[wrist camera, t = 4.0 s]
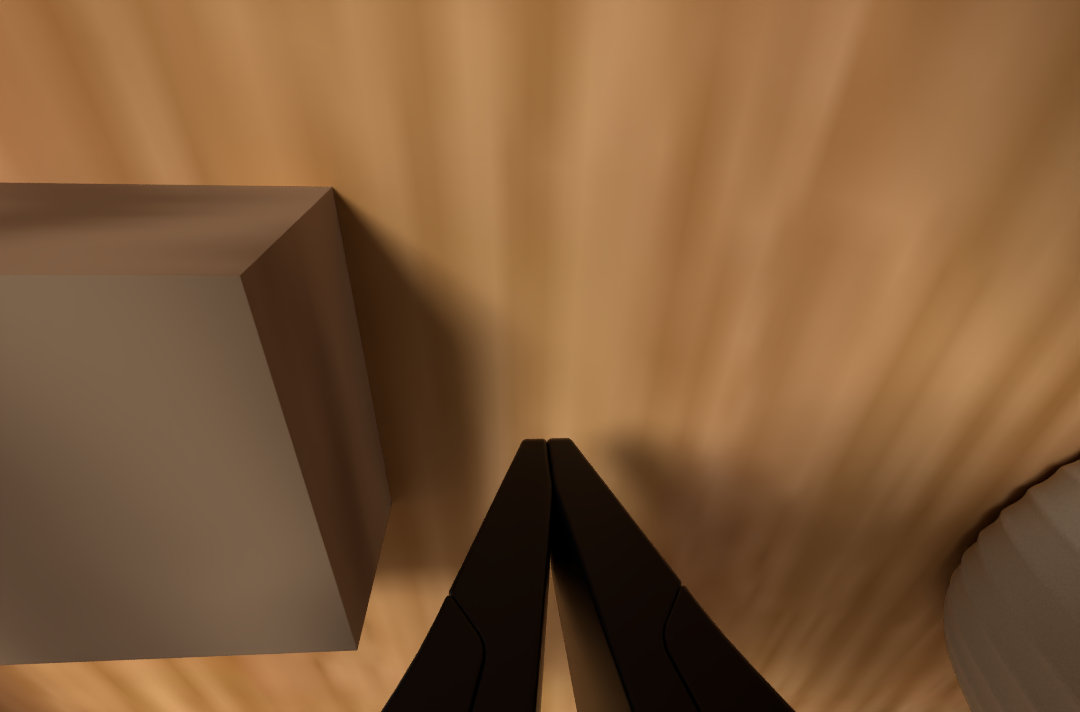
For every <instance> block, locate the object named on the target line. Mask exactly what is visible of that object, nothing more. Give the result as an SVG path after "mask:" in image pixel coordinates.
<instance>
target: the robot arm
mask: <svg viewBox="0 0 1080 712" xmlns="http://www.w3.org/2000/svg"><path fill="white" fill-rule="evenodd" d="M550 561H551V569H552V576H553V582H554V587H555V593H556V598H557V604H558V609H559V615H560V620H561V626H562V631H563V637H564V642H565V648H566V653H567V659H568V664H569V670H570V675H571V681H572V686H573V692H574V697H575V703H576V708H577V712H795V711H794V710H793V708H792V707H791V706H790V705H789V704H788V703H787V702H786V701H785V700H784V699H783V698H782V697H781V696H780V695H779V694H778V693H777V692H776V691H775V689H774V688H773V687H772V686H771V685H770V684H769V683H768V682H767V681H766V680H765V679H764V678H763V677H762V676H761V675H760V674H759V673H758V672H757V670H756V669H755V668H754V667H753V666H752V665H751V664H750V663H749V662H748V661H747V660H746V658H745V657H744V656H743V655H742V654H741V653H740V652H739V651H738V650H737V649H736V647H735V646H734V645H733V644H732V643H731V642H730V641H729V640H728V639H727V638H726V637H725V635H724V634H723V633H722V632H721V630H720V629H719V628H718V627H717V626H716V624H715V623H714V622H713V621H712V619H711V618H710V617H709V616H708V615H707V613H706V612H705V611H704V610H703V609H702V607H701V606H700V605H699V603H698V602H697V601H696V600H695V598H694V597H693V596H692V594H691V593H690V592H689V590H688V589H687V588H686V587H685V586H684V585H683V586H681V584H682V583H681V580H680V579H679V578H678V577H677V575H676V574H675V573H674V571H673V570H672V569H671V568H670V566H669V565H668V564H667V562H666V561H665V560H664V559H663V557H662V556H661V555H660V553H659V552H658V551H657V549H656V548H655V547H654V546H653V544H652V543H651V542H650V540H649V539H648V538H647V537H646V535H645V534H644V533H643V531H642V530H641V529H640V528H639V526H638V525H637V524H636V522H635V521H634V520H633V519H632V517H631V516H630V515H629V513H628V512H627V511H626V510H625V508H624V507H623V506H622V504H621V503H620V502H619V500H618V499H617V498H616V497H615V495H614V494H613V493H612V491H611V490H610V489H609V488H608V486H607V485H606V484H605V482H604V481H603V480H602V479H601V477H600V476H599V475H598V473H597V472H596V471H595V470H594V468H593V467H592V466H591V464H590V463H589V462H588V461H587V459H586V458H585V457H584V455H583V454H582V453H581V451H580V450H579V449H578V448H577V446H576V445H575V444H574V442H573V441H572V440H571V439H569V438H551V439H549V440H548V441H547V442H546V440H545V439H525V440H523V441H522V443H521V445H520V447H519V449H518V451H517V453H516V455H515V457H514V459H513V461H512V463H511V465H510V467H509V469H508V471H507V473H506V475H505V477H504V479H503V482H502V484H501V486H500V488H499V490H498V492H497V494H496V496H495V498H494V500H493V502H492V504H491V506H490V508H489V510H488V512H487V514H486V517H485V519H484V521H483V523H482V525H481V527H480V529H479V531H478V533H477V535H476V537H475V539H474V541H473V543H472V545H471V547H470V549H469V552H468V554H467V556H466V558H465V560H464V562H463V564H462V566H461V568H460V570H459V572H458V574H457V576H456V578H455V580H454V582H453V584H452V587H451V589H450V591H449V596H447V597H446V598H445V600H444V602H443V604H442V606H441V609H440V611H439V613H438V615H437V617H436V619H435V621H434V623H433V624H432V626H431V628H430V630H429V632H428V634H427V636H426V638H425V640H424V642H423V643H422V645H421V647H420V649H419V651H418V653H417V654H416V656H415V658H414V659H413V661H412V663H411V664H410V666H409V668H408V669H407V671H406V673H405V674H404V676H403V678H402V679H401V681H400V683H399V684H398V686H397V688H396V689H395V691H394V692H393V694H392V695H391V697H390V699H389V700H388V702H387V703H386V705H385V706H384V708H383V709H382V711H381V712H541V697H542V681H543V666H544V651H545V635H546V620H547V605H548V589H549V572H550Z"/></svg>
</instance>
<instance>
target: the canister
mask: <svg viewBox="0 0 1080 712" xmlns="http://www.w3.org/2000/svg"><path fill="white" fill-rule="evenodd" d="M944 636H945V641H946V646H947V650H948V654H949V657H950V660H951V663H952V666H953V669H954V671H955V674H956V676H957V679H958V682H959V684H960V687H961V689H962V691H963V694H964V696H965V698H966V701H967V703H968V705H969V707H970V709H971V711H972V712H1080V459H1079V460H1077V461H1075V462H1073V463H1070V464H1066V465H1065V466H1061V468H1059V469H1058V470H1057V471H1056V472H1055V473H1054V474H1053V475H1052V476H1051V477H1050V478H1048V479H1047V480H1045V481H1043V482H1041V483H1039V484H1036V485H1034V486H1033V487H1031V488H1029V489H1028V490H1027V492H1026V494H1025V495H1024V496H1023V497H1022V498H1021V499H1020V500H1018V501H1017V502H1015V503H1014V504H1011V505H1009V506H1008V507H1007V508H1005V509H1003V510H1002V511H1001V514H1000V516H999V517H998V519H997V520H996V521H995V522H993V523H992V524H990V525H988V526H987V527H986V528H984V529H983V530H982V531H980V533H979V536H978V539H977V542H976V543H974V544H973V545H971V546H970V547H969V548H968V549H967V550H966V551H964V553H963V556H962V558H961V564H960V565H959V566H958V567H957V568H956V569H955V570H954V571H953V573H952V575H951V578H950V585H949V587H948V590H947V592H946V594H945V600H944Z"/></svg>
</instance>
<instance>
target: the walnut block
mask: <svg viewBox="0 0 1080 712" xmlns="http://www.w3.org/2000/svg"><path fill="white" fill-rule="evenodd" d="M391 505H392V502H391V497H390V491H389V486H388V481H387V475H386V470H385V465H384V459H383V454H382V449H381V444H380V438H379V433H378V428H377V422H376V417H375V412H374V406H373V401H372V396H371V390H370V385H369V380H368V374H367V369H366V364H365V358H364V353H363V348H362V342H361V337H360V332H359V326H358V321H357V316H356V311H355V305H354V300H353V295H352V289H351V284H350V279H349V273H348V268H347V263H346V257H345V252H344V247H343V241H342V236H341V231H340V225H339V220H338V215H337V209H336V204H335V199H334V194H333V188H332V187H300V186H219V185H138V184H56V183H0V665H15V664H39V663H63V662H87V661H111V660H135V659H160V658H184V657H208V656H232V655H256V654H280V653H304V652H328V651H352V650H357V649H358V645H359V641H360V636H361V632H362V628H363V624H364V619H365V615H366V611H367V607H368V602H369V598H370V594H371V590H372V585H373V581H374V577H375V573H376V568H377V564H378V560H379V556H380V551H381V547H382V543H383V539H384V535H385V530H386V526H387V522H388V518H389V513H390V509H391Z"/></svg>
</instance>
